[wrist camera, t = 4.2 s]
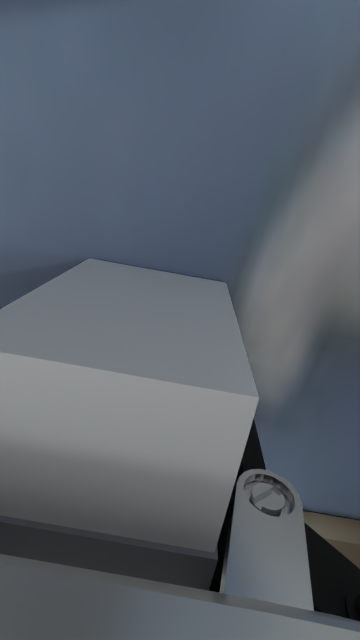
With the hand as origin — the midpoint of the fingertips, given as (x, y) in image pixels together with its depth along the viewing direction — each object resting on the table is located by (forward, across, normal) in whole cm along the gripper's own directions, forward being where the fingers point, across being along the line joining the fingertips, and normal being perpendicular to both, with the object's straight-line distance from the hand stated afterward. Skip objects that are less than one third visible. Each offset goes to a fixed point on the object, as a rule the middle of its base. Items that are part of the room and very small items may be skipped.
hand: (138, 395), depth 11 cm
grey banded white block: (0, 0, 0) cm, 0 cm away
